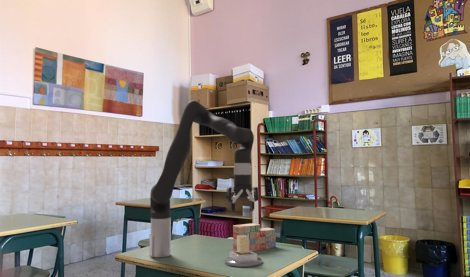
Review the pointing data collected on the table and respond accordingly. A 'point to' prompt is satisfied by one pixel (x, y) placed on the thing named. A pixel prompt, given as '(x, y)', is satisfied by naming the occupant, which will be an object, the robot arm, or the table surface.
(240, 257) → the gray round dish
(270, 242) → the stack of blocks
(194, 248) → the table surface
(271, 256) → the table surface
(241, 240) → the wooden block
